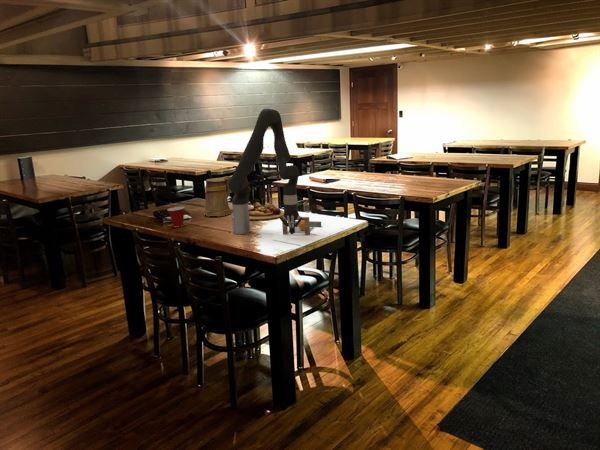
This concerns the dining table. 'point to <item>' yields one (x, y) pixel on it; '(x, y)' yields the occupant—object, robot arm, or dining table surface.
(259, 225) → the dining table surface
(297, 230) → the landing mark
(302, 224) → the ball
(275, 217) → the wooden plate with food
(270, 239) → the dining table surface
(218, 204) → the tankard
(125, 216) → the dining table surface
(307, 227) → the tan arch
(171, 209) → the plastic cup
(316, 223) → the wall
